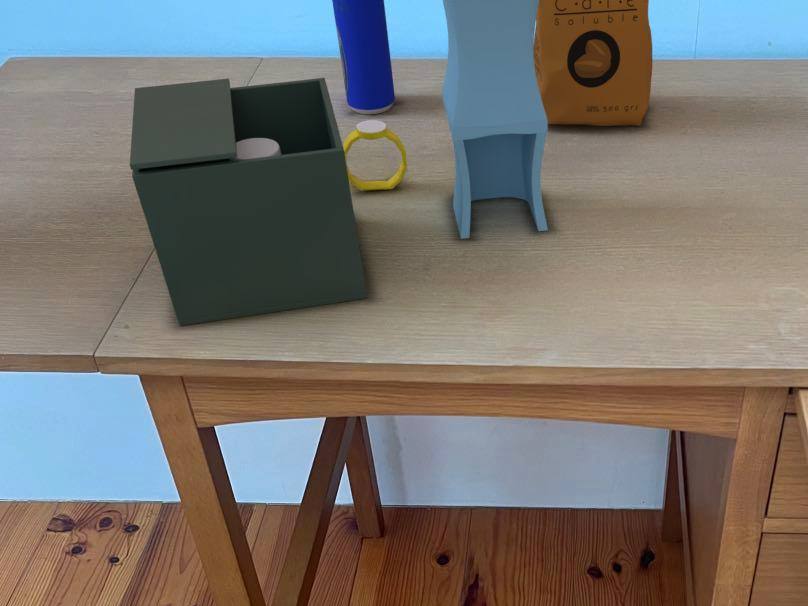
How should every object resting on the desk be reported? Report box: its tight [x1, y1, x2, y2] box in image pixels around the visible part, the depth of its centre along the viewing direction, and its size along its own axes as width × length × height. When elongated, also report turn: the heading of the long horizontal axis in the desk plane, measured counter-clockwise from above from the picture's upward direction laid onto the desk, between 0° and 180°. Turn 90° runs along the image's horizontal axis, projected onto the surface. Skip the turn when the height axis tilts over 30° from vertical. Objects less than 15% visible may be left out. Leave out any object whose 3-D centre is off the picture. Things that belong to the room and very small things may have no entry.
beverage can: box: [331, 0, 396, 115], centre depth 104 cm, size 5×5×15 cm
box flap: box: [129, 78, 237, 171], centre depth 76 cm, size 7×14×1 cm, turn 14°
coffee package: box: [533, 0, 654, 127], centre depth 99 cm, size 10×12×22 cm
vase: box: [441, 0, 549, 240], centre depth 85 cm, size 8×8×20 cm
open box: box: [131, 77, 368, 327], centre depth 81 cm, size 15×14×12 cm
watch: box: [342, 119, 408, 192], centre depth 94 cm, size 6×3×6 cm, turn 101°
